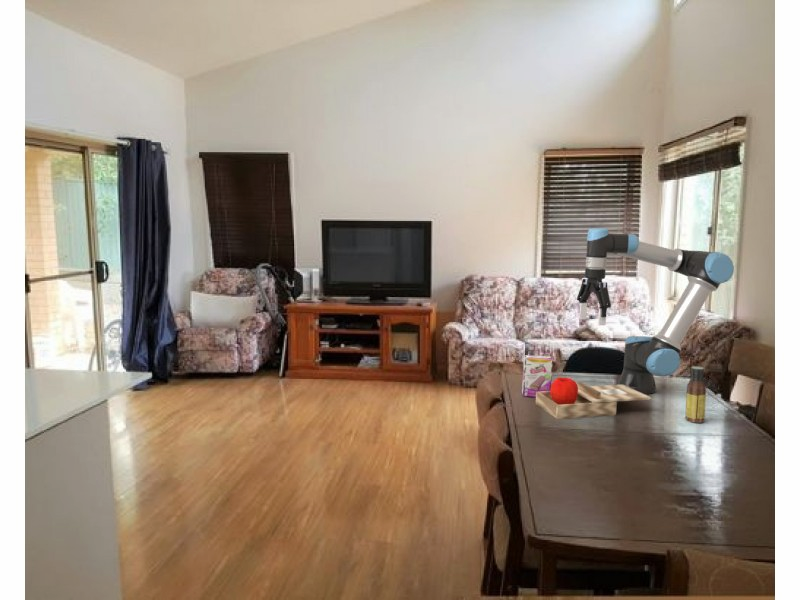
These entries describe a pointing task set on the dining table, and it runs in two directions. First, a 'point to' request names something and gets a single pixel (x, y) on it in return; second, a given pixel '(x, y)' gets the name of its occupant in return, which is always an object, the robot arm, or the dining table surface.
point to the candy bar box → (536, 375)
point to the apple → (564, 391)
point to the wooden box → (574, 407)
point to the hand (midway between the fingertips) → (591, 322)
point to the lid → (609, 393)
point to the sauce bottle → (696, 396)
